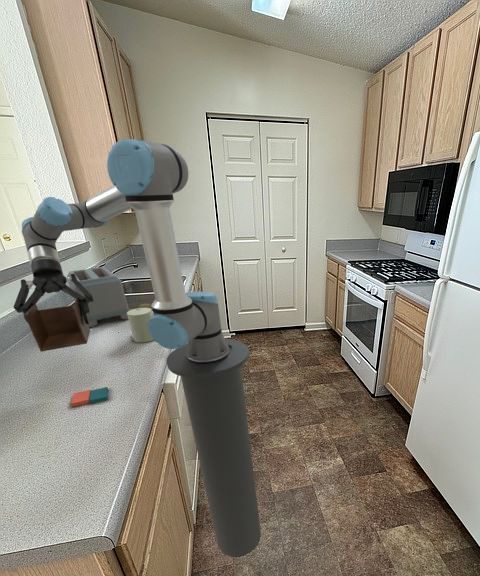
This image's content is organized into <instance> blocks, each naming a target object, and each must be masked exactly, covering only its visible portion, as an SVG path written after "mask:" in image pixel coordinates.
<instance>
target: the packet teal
mask: <svg viewBox="0 0 480 576" xmlns="http://www.w3.org/2000/svg"><path fill="white" fill-rule="evenodd" d="M90 390H91V389H90ZM108 400H109V388H108V386H105V387H100V388H96V389H92V390H91V393H90V400H89V401H90V403H89V404H91V405H92V404H96V403H101V402H105V401H108Z"/></svg>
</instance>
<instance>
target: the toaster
mask: <svg viewBox="0 0 480 576" xmlns="http://www.w3.org/2000/svg"><path fill="white" fill-rule="evenodd" d="M71 274H75V276H76V279H77V280H78V281H79V282H80V283H81V285H82V286H83V287H84V288H85V289H86V290H87V291H88V292H89V293H90V294H91V295H92V297H93V299H94V301H93V302H89V303H88V306H89V310H90V313H86V314H87V318H88V322H89V324H88V326H89V329H90V328H94V327H96V326H97V325H98V321H101V320H104V319H109V318H113V317H118V316H119V318H120V319H122V320H125V321H127V320H129V319H128V316H127V312H128V311H130V308H129V304H128V300H127V298H126V293H125V290H124V286H123V283H122V282H123V281H122V279H120V278H119V277H118V276H116V274H115V273H113V272H111V271H110V270H109V269H107V268H106V267H105V266H97V267H92V268H84V269H78V270H77V269H76V270H69V272H68V274H67V275H66V277H67V276H71ZM67 282H68V285H69V286H68V287H69V288H71V289H73V290H74V291H76V292H77V293H79V294H80V295H82V296H83V297H85V296H84V295H83V294H82V293H81V292H80V291H79V289H78V288H77V287H76V286H75V285H74V283H73V284H72V283H70V282H69V281H67ZM73 300H74V302H75V301H76V299H75V298H73Z"/></svg>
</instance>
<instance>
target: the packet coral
mask: <svg viewBox="0 0 480 576" xmlns="http://www.w3.org/2000/svg"><path fill="white" fill-rule="evenodd" d="M90 393H91V389H86V390H82V391H77V392H73V394H72V397H71V401H70V405H71V407H72V408H74V407H78V406H82V405H86V404H91V403H90V401H89V400H90Z"/></svg>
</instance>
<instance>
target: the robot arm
mask: <svg viewBox="0 0 480 576" xmlns="http://www.w3.org/2000/svg"><path fill="white" fill-rule="evenodd" d="M106 161H107V162H106V169H107V174H108V177H109V179H110V180H109V181H111V183H112V185H111V186H109V187H107V188H105V189H103V190H101V191H100V192H99V193H98V192H97V193H96V194H95V195H92V196H91V197H89V198H87V199H86V200H83V201H81V202H77V203H76V202H75V203H67V202H65V201H64V200H62V199H61V198H56V197H55V196H47V197H45V198H44V199H43V200H42V201H41V203H39V205H38V206H37V209H36V211H35V213H34V215H33V216H31V217H27V218H26V219H23V220H22V222H21V233H22V237H23V240H24V243H25V247H26V251H27V256H28V260H29V264H30V268H31V272H32V280H26V279H24V278H23V279H21V280H20V288H19V291H18V293H17V296H16V299H15V301H14V304H13V309H14V310H15V312H16V313H18V314H21V313H23V319H24V321H26V323H27V324H28V322H27V319H26V317H25V314H26V313H27V312H28V310H29V309H30V308H31V307H32V305H33V304H36V305H37V303H38V302H39V301H40V299H41V298H42V297H44V296H45V294H52V293H60V291H62V292H63V293H65V294H67V295H69V296H70V297H72V298H73V299H74V298H75V299H77V298H78V299H79V302H80V306H81V310H82V313H83V317H84V321H85V323H86V324H89V322H88V318H87V314H86V313H90V310H89V306H88V303H89V302H93V301H94V299H93V297H92V295H91V294H90V293H89V292H88V291H87V290H86V289H85V288H84V287H83V286H82V285H81V283H80V282H79V281H78V280H77V279H76V276H75V274H71V276H67V275H66V276H65V275H64V272H63V267H62V264H61V261H60V257H59V254H58V249H57V246H56V242H57V241H58V239H59V238H60V237H61V235H62V234H63V233H64V232H68V231H74V230H75V231H76V230H83V229H91V228H95V229H96V228H100V227H103V226H106V225H107V224H108V222H109V220H111V219H113V218H116V217H117V216H119V215H122V214H123V213H126V212H127V211H130V210H132V209H133V211H134V213H135V217H136V221H137V226H138V230H139V234H140V239H141V243H142V247H143V252H144V256H145V260H146V264H147V268H148V273H149V277H150V282H151V285H152V290H153V294H154V300H153V302H152V303H151V304H150V305H151V306H152V314H153V316H152V317H151V318H150V320H149V321H148V330H149V333H150V335H151V336H152V338H153V339H154V340H153V341H155V342H156V343H158V345H160V346H161V347H163V348H165V349H168V350H175V349H177V348H180V347H181V346H184V345H186V344H187V351H186V355H187V359H188V360H189V361H190V362H193V363H197V364H208V363H214V362H217V361H220V360H222V359H224V358H226V357H227V356H228V355H229V353H230V351H229V347H230V348H232V346H231V345H229V344H227V342H226V340H225V336H224V334H223V331H222V324H221V316H220V310H219V309H220V308H219V302H218V297H217V295H216V294H215V293H213V292H210V291H189V292H186V289H185V284H184V283H185V282H184V279H183V274H182V268H181V263H180V257H179V252H178V246H177V241H176V235H175V229H174V225H173V220H172V215H171V211H170V210H171V206H172V205H173V204H174V203H175V200H174V194H175V193H178V192H181V191H182V190H183V189H184V188H185V187H186V185H187V183H188V180H189V168H188V167H189V166H188V163H187V161H186V160H185V158H184V156H183V155H182V153H180V152H179V150H177V149H176V148H174V147H173V146H171V145H168V144H165V143H159V142H158V143H157V142H152V141H147V140H142V139H135V138H133V139H131V138H129V139H128V138H127V139H120V140H118V141H116V142H115V143H114V144H113V145H112V146H111V149H110V151H108V154H107V160H106ZM68 281H69V282H70V283H72V284H73V283H74V285H75V286H76V287H77V288H78V289H79V291H80V292H81V293H82V294H83V295H84V296H85V297H83V296H82V295H80V294H79V293H77V292H76V291H74V290H73V289H71V288H70V286H68V285H67V282H68ZM33 286H34V290H33V292H32V293H31V294H30V296H29V293H30V290H31V289H32V287H33ZM28 296H29V297H28Z"/></svg>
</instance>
